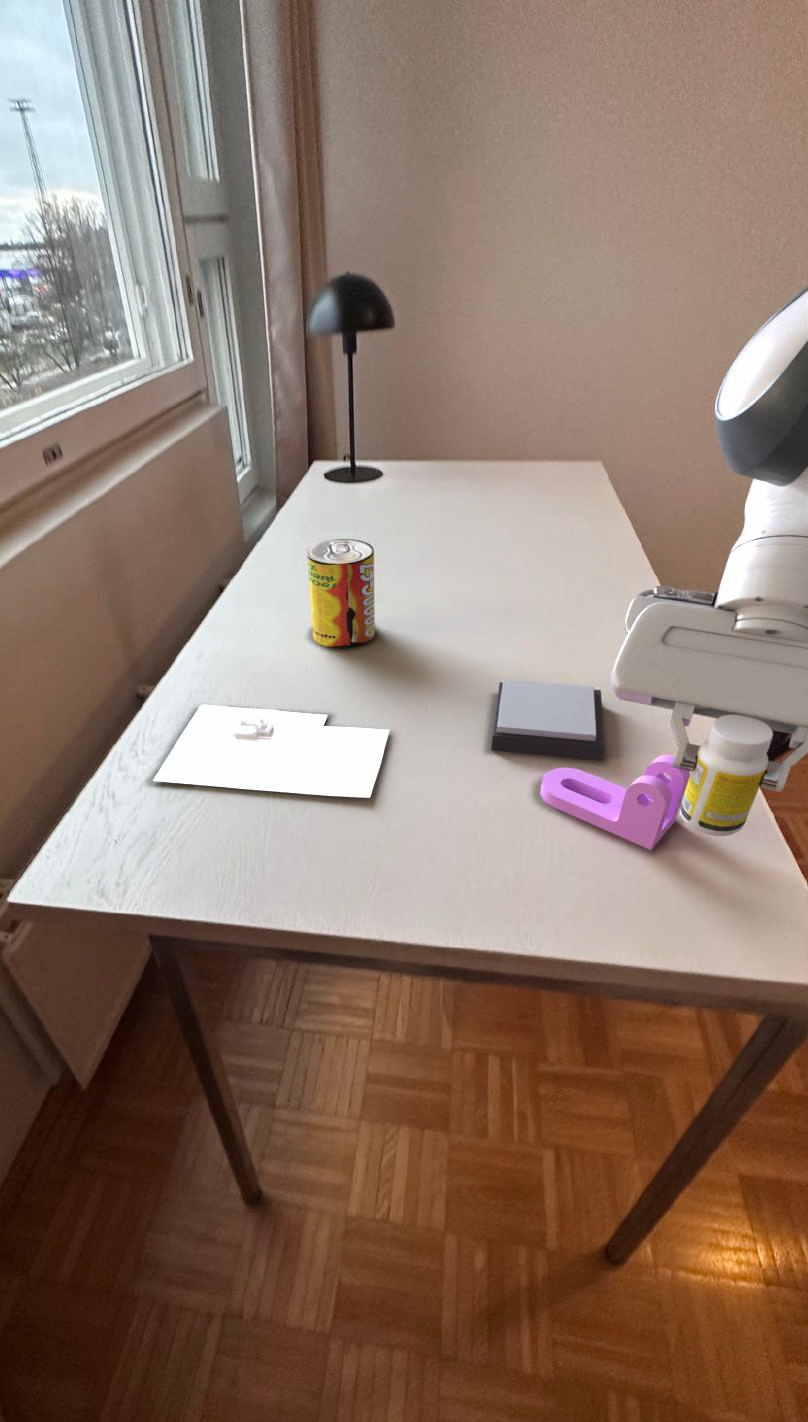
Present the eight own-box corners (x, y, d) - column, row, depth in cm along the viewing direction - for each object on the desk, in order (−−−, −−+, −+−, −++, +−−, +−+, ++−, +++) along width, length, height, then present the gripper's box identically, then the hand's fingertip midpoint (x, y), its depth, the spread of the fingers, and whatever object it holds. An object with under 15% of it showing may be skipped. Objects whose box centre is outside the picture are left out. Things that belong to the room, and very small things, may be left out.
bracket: (675, 820, 72) (694, 763, 68) (651, 850, 69) (669, 792, 65) (557, 771, 79) (567, 716, 75) (530, 796, 76) (539, 741, 72)
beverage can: (318, 651, 102) (313, 566, 94) (308, 624, 109) (302, 542, 101) (381, 643, 103) (380, 559, 96) (367, 616, 110) (365, 535, 102)
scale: (597, 704, 89) (602, 683, 87) (601, 760, 80) (606, 739, 79) (497, 696, 91) (500, 676, 90) (490, 750, 83) (493, 729, 81)
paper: (149, 788, 80) (147, 780, 79) (195, 705, 92) (193, 697, 92) (377, 801, 76) (377, 793, 76) (392, 713, 89) (392, 706, 88)
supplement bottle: (756, 823, 57) (794, 733, 52) (717, 846, 56) (752, 755, 50) (704, 792, 61) (735, 704, 55) (665, 813, 59) (693, 724, 53)
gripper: (637, 564, 56) (583, 737, 56) (959, 606, 48) (897, 807, 48) (636, 598, 62) (588, 754, 62) (923, 640, 54) (868, 819, 54)
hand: (726, 778), depth 55 cm, fingers closed on supplement bottle, 5 cm apart
